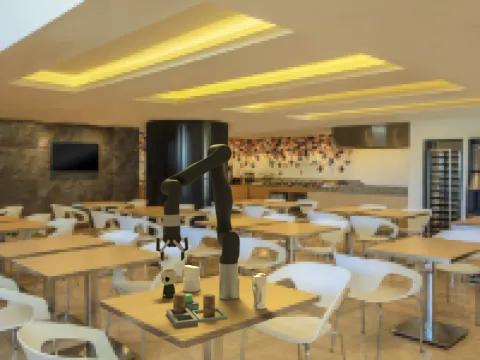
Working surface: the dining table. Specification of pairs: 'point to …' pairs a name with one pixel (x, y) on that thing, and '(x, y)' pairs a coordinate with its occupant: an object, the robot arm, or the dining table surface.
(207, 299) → the cylinder
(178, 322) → the grey shallow tray
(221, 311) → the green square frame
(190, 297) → the button
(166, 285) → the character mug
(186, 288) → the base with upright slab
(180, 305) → the cylinder
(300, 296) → the dining table surface
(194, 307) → the console
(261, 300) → the beer glass
